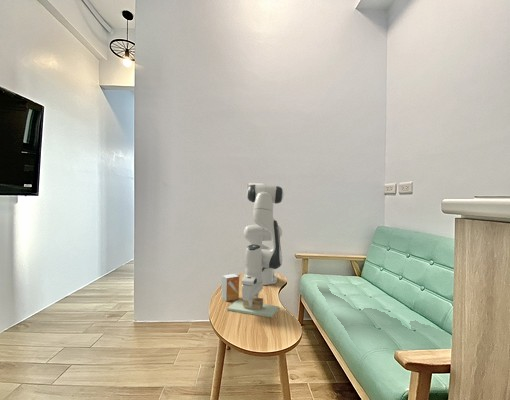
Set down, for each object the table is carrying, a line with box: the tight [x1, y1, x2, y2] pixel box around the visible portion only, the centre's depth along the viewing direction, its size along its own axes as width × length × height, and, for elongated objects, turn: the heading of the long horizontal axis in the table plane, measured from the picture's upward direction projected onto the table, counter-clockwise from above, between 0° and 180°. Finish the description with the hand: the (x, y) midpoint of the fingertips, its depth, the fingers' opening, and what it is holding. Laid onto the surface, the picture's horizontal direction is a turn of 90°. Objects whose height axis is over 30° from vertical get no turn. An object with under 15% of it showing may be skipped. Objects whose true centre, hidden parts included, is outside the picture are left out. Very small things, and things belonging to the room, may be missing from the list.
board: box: [227, 299, 280, 318], centre depth 152 cm, size 12×24×1 cm, turn 69°
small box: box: [221, 273, 240, 302], centre depth 167 cm, size 8×6×13 cm
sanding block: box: [242, 297, 264, 310], centre depth 151 cm, size 5×9×4 cm, turn 70°
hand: (253, 303), depth 151 cm, fingers closed on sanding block, 5 cm apart
